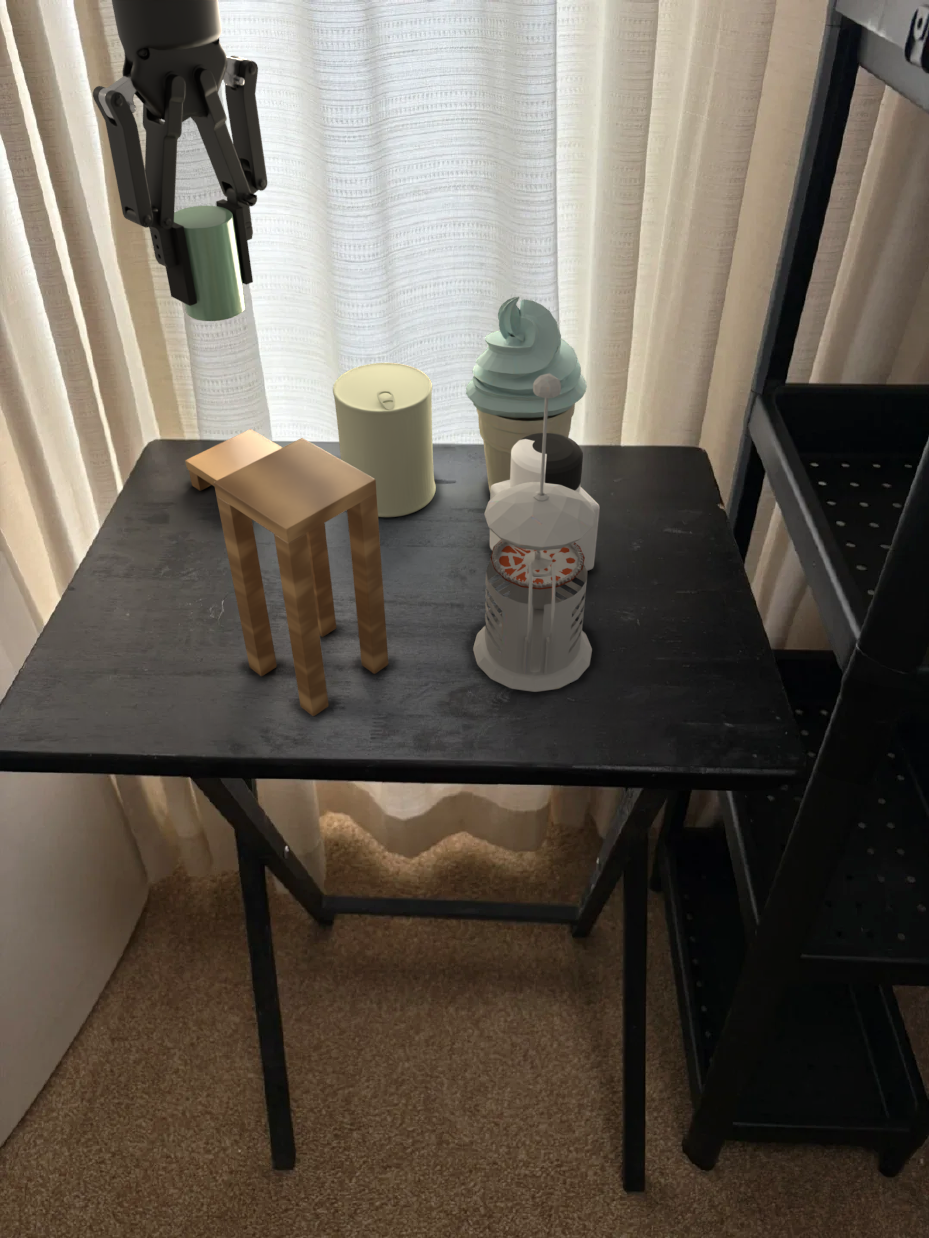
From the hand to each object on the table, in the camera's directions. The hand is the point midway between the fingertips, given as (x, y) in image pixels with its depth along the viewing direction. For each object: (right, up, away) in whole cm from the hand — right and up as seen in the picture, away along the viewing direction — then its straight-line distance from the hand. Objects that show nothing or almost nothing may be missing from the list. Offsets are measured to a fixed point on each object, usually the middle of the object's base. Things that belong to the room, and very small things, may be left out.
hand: (212, 288), depth 90 cm
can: (+14, -16, +13) cm, 25 cm away
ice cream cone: (+28, -16, +13) cm, 34 cm away
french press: (+27, -32, -5) cm, 42 cm away
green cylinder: (0, -1, +1) cm, 2 cm away
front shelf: (+10, -32, -6) cm, 34 cm away
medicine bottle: (+29, -23, +5) cm, 37 cm away
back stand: (0, -15, +14) cm, 20 cm away
